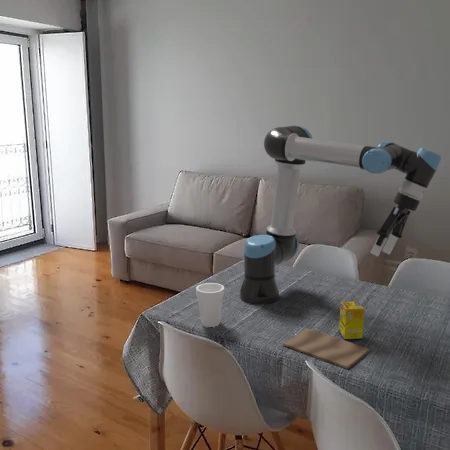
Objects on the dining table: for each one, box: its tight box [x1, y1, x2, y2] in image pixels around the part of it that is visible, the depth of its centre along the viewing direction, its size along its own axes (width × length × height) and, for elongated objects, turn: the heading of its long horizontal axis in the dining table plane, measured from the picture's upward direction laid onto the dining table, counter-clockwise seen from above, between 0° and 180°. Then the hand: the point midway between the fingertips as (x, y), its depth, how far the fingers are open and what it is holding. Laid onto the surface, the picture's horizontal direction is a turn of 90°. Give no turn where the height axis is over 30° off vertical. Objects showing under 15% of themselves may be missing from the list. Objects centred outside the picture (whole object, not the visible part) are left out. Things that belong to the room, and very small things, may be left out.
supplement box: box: [338, 301, 365, 342], centre depth 162 cm, size 6×6×11 cm
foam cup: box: [195, 282, 225, 328], centre depth 172 cm, size 10×9×13 cm
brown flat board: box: [282, 328, 371, 370], centre depth 155 cm, size 22×14×1 cm, turn 49°
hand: (380, 253), depth 170 cm, fingers open, 13 cm apart
